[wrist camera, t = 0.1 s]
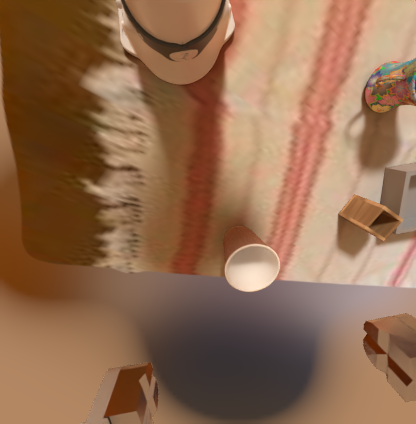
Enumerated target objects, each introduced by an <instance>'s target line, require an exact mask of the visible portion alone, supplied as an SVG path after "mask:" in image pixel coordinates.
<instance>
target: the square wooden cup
mask: <svg viewBox="0 0 416 424" xmlns="http://www.w3.org/2000/svg"><path fill="white" fill-rule="evenodd" d="M339 215H340V216H342V217H343V218H345V219H347V220H348V221H350V222H351V223H353V224H354V225H356V226H358V227H359V228H361V229H363V230H365V231H366V232H368V233H370V234H372V235H374V236H375V237H377V238H379V239H381V240H382V241H385V240H386V238H387V237H388V236H389V235H390V234H391V233H392V232H393V231H394V230H395V229H396V228H397V227H398V226H399V224H400V223H401V222H402V221H403V220H404V219H402V218H401V217H399V216H398V215H397V214H395V213H394V212H392V211H391V210H390V209H388V208H387V207H385V206H384V205H381V204H379V203H376V202H373V201H371V200H368V199H365V198H363V197H360V196H357V195H355V194H354V196H353V197H352V198H351V199H350V200H349V202H348V203H347V204H346V205H345V207H344V208H343V209H342V210H341V211H340V213H339Z"/></svg>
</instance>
